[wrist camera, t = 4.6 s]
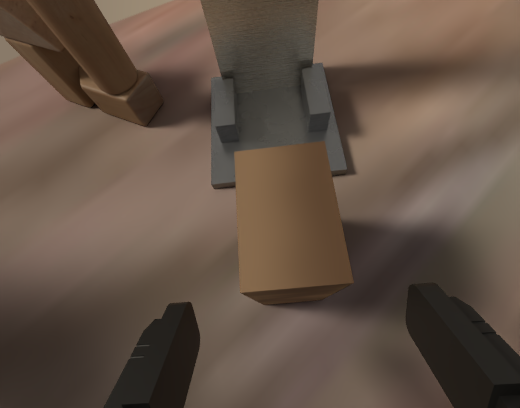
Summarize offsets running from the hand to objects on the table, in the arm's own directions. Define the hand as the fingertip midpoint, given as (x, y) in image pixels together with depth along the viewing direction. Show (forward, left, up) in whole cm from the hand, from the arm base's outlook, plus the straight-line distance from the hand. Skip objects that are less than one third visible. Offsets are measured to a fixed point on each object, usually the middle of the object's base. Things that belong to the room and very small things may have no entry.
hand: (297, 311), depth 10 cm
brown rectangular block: (0, +4, -9) cm, 10 cm away
